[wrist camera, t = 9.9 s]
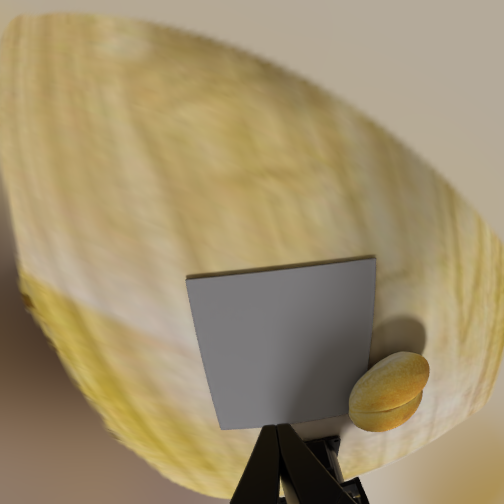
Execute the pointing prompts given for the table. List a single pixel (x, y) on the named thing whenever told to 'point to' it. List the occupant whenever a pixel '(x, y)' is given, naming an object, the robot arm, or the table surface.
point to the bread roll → (389, 392)
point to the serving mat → (284, 340)
